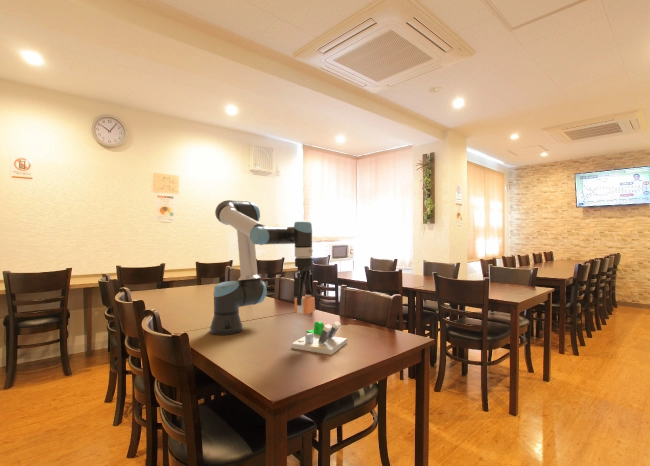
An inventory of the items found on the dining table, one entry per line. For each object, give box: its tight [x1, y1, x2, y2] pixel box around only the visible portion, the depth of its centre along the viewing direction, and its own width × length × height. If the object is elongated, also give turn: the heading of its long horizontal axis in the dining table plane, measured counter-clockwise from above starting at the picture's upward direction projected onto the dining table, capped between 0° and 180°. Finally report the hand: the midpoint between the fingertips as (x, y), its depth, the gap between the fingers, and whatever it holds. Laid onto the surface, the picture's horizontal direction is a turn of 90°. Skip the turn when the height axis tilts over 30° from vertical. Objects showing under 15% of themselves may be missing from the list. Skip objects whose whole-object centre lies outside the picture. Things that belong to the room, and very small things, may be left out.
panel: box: [291, 333, 348, 356], centre depth 143 cm, size 18×17×2 cm
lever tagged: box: [318, 323, 332, 345], centre depth 138 cm, size 2×4×8 cm, turn 154°
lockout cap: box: [294, 295, 316, 315], centre depth 146 cm, size 6×6×6 cm
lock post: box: [305, 332, 313, 344], centre depth 141 cm, size 2×2×4 cm
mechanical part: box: [306, 320, 325, 336], centre depth 157 cm, size 12×6×8 cm, turn 35°
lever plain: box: [327, 320, 341, 340], centre depth 144 cm, size 2×4×8 cm, turn 154°
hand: (304, 311), depth 146 cm, fingers closed on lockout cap, 6 cm apart
